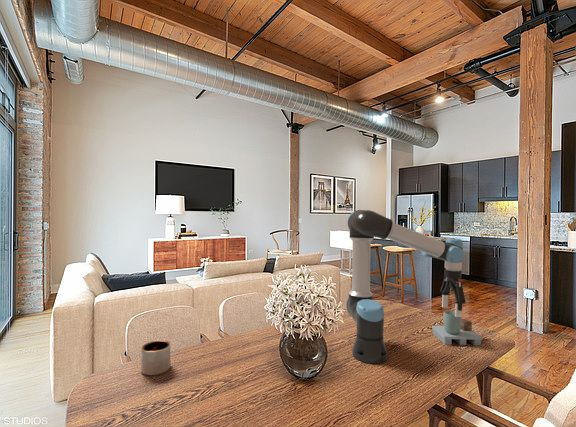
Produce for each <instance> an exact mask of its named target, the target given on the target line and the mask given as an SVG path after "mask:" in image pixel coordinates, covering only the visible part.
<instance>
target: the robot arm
mask: <svg viewBox="0 0 576 427" xmlns="http://www.w3.org/2000/svg"><path fill="white" fill-rule="evenodd" d="M346 223H347V228H348V230H349V239H350V240H351V241H352V252H351V253H352V255H351V256H352V258H351V262H352V263H351V265H352V266H351V270H352V271H351V289H350V290H349V292H348V298H347V299H346V301H345V302H346V303H345V307H346V310H347V313H348V315H349V316H350V317H351V318H352V319H353V320H354V322H355V323H356V336H355V337H356V338H355V340H354V343H353V346H352V348H351V349H352V352H351V353H352V354H351V355H352V356H353V358H354V359H357V360H358V361H360V362H363V363H367V364H381V363H384V362H386V361H387V360H388V351H387V348H386V343H385V341H384V332H385V330H384V325H385V324H384V323H385V310H384V306H383V305H382V303H381V302H379V301H377V300H374V294H373V292H372V291H371V253H372V252H371V248H372V247H371V245H372V244H371V242H372V241H373V240H374V239H375V238H378V239H381V240H390V241H392V242H395V243H398V244H401V245H404V246H406V247H408V248H412V249H414V250H417V251H419V252H421V255H422V256H423V257H425V258H434V259H438V260H442V261H444V276H443V281H442V284H441V287H440V289H439V292H440V293H441V295H442V297H441V298H442V299H441V308H443V309H448V308H449V296H450V295H449V292H450V291H451V290H452V292H453V295H454V298H455V301H456V302H455V308H454V311H455V317H461V318H462V317H463V316H462V315H463V304H466V298H465V294H464V288H463V282H462V281H460V282H459V279H462V274H463V271H462V270H463V269H462V268H463V263H462V262H463V260H464V257H465V253H464V243H463V240H462V239H461V238H454V237H453V238H452V237H448V238H446V239H445V241H444V242H443V241H442V240H439V239H436V238H435V237H432V236H428V235H426V234H423V233H421V232H419V231H417V230H413V229H410V228H407V227H406V226H402V225H400V224H398V223H395V222H394V221H393V219H392V218H389V217H386V216H385V215H382V214H380V213H378V212H376V211H374V210H369V209H366V210H365V209H356V210H355V211H353V212H352V213H350V214H349V216H348V217H347V222H346Z"/></svg>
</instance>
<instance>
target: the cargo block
mask: <svg viewBox="0 0 576 427" xmlns="http://www.w3.org/2000/svg"><path fill="white" fill-rule="evenodd" d="M461 330H463V331H473V322H472V320H469V319H468V318H461Z"/></svg>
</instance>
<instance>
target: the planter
mask: <svg viewBox="0 0 576 427" xmlns="http://www.w3.org/2000/svg"><path fill="white" fill-rule="evenodd" d="M140 356H141V357H140V358H141V359H140V360H141V361H140V363H141V364H140V370H141V373H142V374H143V375H145V376H149V375H151V376H152V375H153V376H158V375H162V374H164V373H165V372H167V371H168V370H170V368H171V343H170V341H169V340H161V339H160V340H152V341H150V342H147V343H145V344H142V346H141V354H140ZM153 376H152V377H153Z"/></svg>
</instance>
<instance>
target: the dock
mask: <svg viewBox="0 0 576 427" xmlns="http://www.w3.org/2000/svg"><path fill="white" fill-rule="evenodd" d="M431 328H432V334H433V335H434V336H435V337H436V338H437V339H439V341H441V342H442V343H443V344H444V345H446V346H448V345H449V346H451V345H453V344H452V343H453V342H452V341H454V342H456V343H457V344H458V345H459V346H467V341H468V342H469V343H471V344H472V345H473V346H482V340H483V337H482V336H481V335H480V334H478V333H477V332H476V331H474V330H472V331H463V330H461V329H460V332H459V333H458V334H450V333H448V332H446V331H445V329H444V325H431Z"/></svg>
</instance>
